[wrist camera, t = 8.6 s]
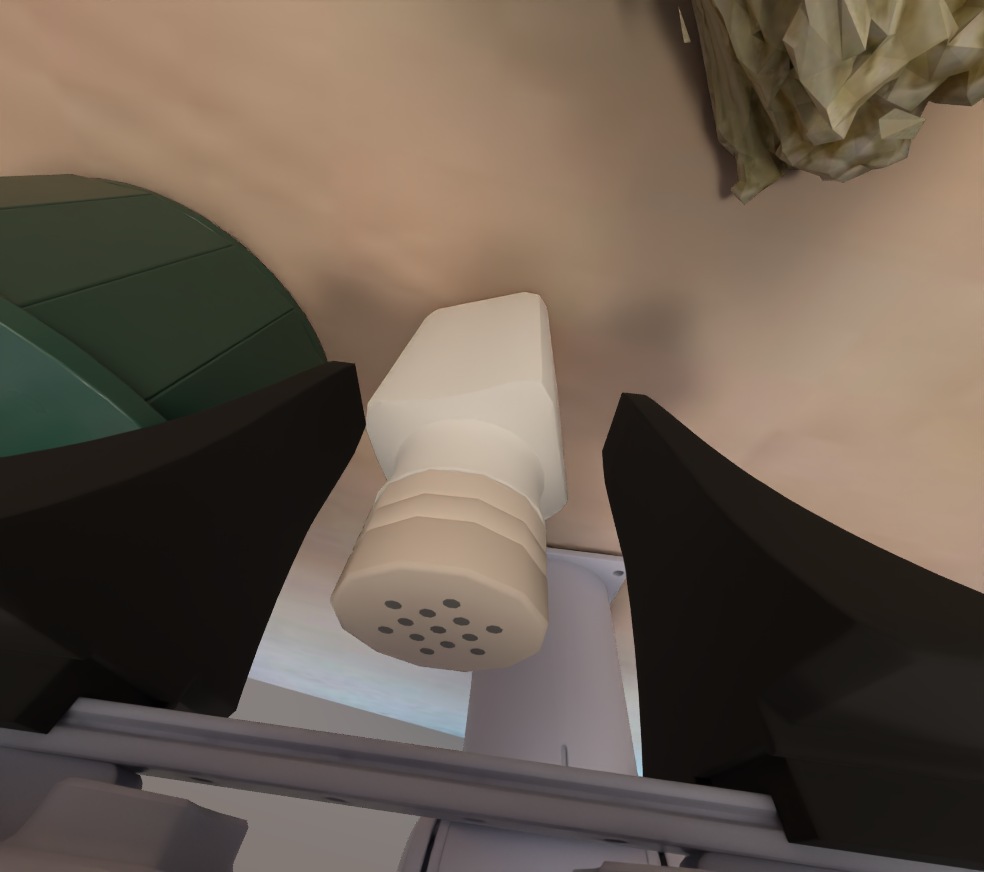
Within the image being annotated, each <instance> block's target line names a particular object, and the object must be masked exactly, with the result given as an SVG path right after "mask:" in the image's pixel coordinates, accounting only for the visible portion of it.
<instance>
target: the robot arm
mask: <svg viewBox="0 0 984 872" xmlns="http://www.w3.org/2000/svg"><path fill="white" fill-rule="evenodd" d="M365 426H366V421H365V416H364V410H363V405H362V399H361V394H360V388H359V383H358V377H357V372H356V366H355V363H346V362H337V361H332V362H328V363H325V364H322V365H319V366H316V367H313V368H311V369H308V370H306V371H303V372H301V373H298V374H296V375H294V376H291V377H289V378H286V379H284V380H282V381H279V382H277V383H274V384H272V385H270V386H267V387H265V388H262V389H260V390H257V391H255V392H252V393H249V394H247V395H244V396H242V397H239V398H236V399H234V400H231V401H228V402H226V403H223V404H220V405H218V406H215V407H212V408H209V409H206V410H203V411H200V412H197V413H194V414H191V415H187V416H184V417H181V418H177V419H174V420H171V421H167V422H164V423H160V424H157V425H153V426H149V427H145V428H141V429H137V430H132V431H128V432H124V433H120V434H116V435H112V436H108V437H104V438H100V439H95V440H91V441H86V442H81V443H76V444H71V445H66V446H61V447H56V448H51V449H46V450H40V451H35V452H29V453H24V454H18V455H12V456H6V457H0V872H233V863H234V860H235V858H236V855H237V853H238V851H239V848H240V846H241V844H242V841H243V839H244V837H245V834H246V832H247V830H248V823H247V820H244V819H240V818H236V817H233V816H229V815H225V814H222V813H218V812H215V811H212V810H210V809H206V808H204V807H201V806H199V805H197V804H195V803H193V802H191V801H189V800H187V799H182V798H178V797H173V796H168V795H163V794H158V793H153V792H148V791H143V790H141V789H142V779H141V776H140V775H146V776H154V777H160V778H167V779H174V780H180V781H187V782H194V783H201V784H207V785H214V786H221V787H228V788H234V789H241V790H248V791H254V792H261V793H268V794H275V795H281V796H288V797H295V798H301V799H309V800H315V801H322V802H328V803H336V804H342V805H348V806H356V807H362V808H369V809H375V810H383V811H389V812H396V813H403V814H409V815H416V816H421V817H420V818H419V820H418V821H417V822H416V824H415V826H414V828H413V830H412V832H411V834H410V836H409V838H408V841H407V843H406V846H405V848H404V851H403V854H402V857H401V860H400V863H399V866H398V870H397V872H984V594H983V593H981V592H978V591H976V590H973V589H971V588H969V587H966V586H964V585H962V584H959V583H957V582H954V581H952V580H950V579H947V578H945V577H942V576H940V575H938V574H936V573H933V572H931V571H929V570H927V569H925V568H922V567H920V566H918V565H916V564H914V563H912V562H910V561H907V560H905V559H903V558H901V557H899V556H897V555H895V554H892V553H890V552H888V551H886V550H884V549H882V548H880V547H878V546H876V545H874V544H872V543H870V542H868V541H866V540H864V539H862V538H860V537H858V536H856V535H854V534H852V533H849V532H848V531H846V530H844V529H842V528H840V527H838V526H836V525H834V524H833V523H831V522H829V521H827V520H825V519H823V518H821V517H820V516H818V515H816V514H814V513H812V512H810V511H809V510H807V509H805V508H803V507H801V506H800V505H798V504H796V503H795V502H793V501H791V500H789V499H788V498H786V497H784V496H783V495H781V494H780V493H778V492H776V491H775V490H773V489H772V488H770V487H768V486H767V485H765V484H764V483H762V482H760V481H759V480H757V479H756V478H754V477H753V476H751V475H750V474H748V473H747V472H745V471H744V470H742V469H741V468H739V467H738V466H737V465H735V464H734V463H732V462H731V461H730V460H728V459H727V458H726V457H724V456H723V455H721V454H720V453H719V452H717V451H716V450H715V449H713V448H712V447H711V446H709V445H708V444H707V443H706V442H704V441H703V440H702V439H701V438H699V437H698V436H697V435H696V434H694V433H693V432H692V431H691V430H689V429H688V428H687V427H686V426H684V425H683V424H682V423H681V422H680V421H678V420H677V419H676V418H675V417H674V416H672V415H671V414H670V413H669V412H668V411H666V410H665V409H664V408H663V407H661V406H660V405H659V404H658V403H656V402H655V401H654V400H652V399H651V398H649V397H648V396H646V395H641V394H632V393H622V394H621V397H620V400H619V403H618V406H617V409H616V412H615V415H614V418H613V421H612V424H611V427H610V430H609V433H608V435H607V438H606V441H605V444H604V447H603V450H602V457H603V470H604V479H605V485H606V490H607V494H608V498H609V502H610V507H611V511H612V515H613V519H614V523H615V527H616V531H617V535H618V539H619V543H620V547H621V551H622V555H623V557H622V556H614V555H606V554H598V553H589V552H581V551H573V550H565V549H557V548H549V547H546V552H545V553H546V554H547V574H546V578H547V583H548V616H549V624H548V627H547V630H546V634H545V637H544V640H543V644H542V647H541V650H540V652H539V653H537V654H535V655H532V656H530V657H528V658H526V659H524V660H522V661H520V662H518V663H516V664H514V665H512V666H510V667H507V668H498V669H488V670H478V671H473V673H472V681H471V689H470V698H469V706H468V714H467V722H466V731H465V739H464V748H463V751H456V750H449V749H442V748H435V747H428V746H421V745H414V744H407V743H400V742H392V741H386V740H379V739H372V738H365V737H358V736H351V735H344V734H337V733H330V732H322V731H316V730H309V729H302V728H294V727H287V726H280V725H273V724H267V723H260V722H252V721H245V720H238V719H231V718H228V717H229V716H230V715H231V714H232V713H234V712H235V711H236V709H237V706H238V703H239V700H240V697H241V694H242V691H243V688H244V685H245V683H246V680H247V677H248V674H249V671H250V669H251V666H252V663H253V660H254V657H255V654H256V652H257V649H258V646H259V643H260V641H261V638H262V636H263V633H264V631H265V628H266V626H267V623H268V621H269V618H270V616H271V613H272V610H273V608H274V605H275V603H276V600H277V598H278V596H279V594H280V591H281V589H282V587H283V584H284V582H285V580H286V577H287V575H288V573H289V570H290V568H291V566H292V564H293V561H294V559H295V557H296V555H297V553H298V551H299V549H300V547H301V544H302V542H303V540H304V538H305V536H306V534H307V532H308V530H309V528H310V526H311V524H312V523H313V521H314V519H315V517H316V516H317V514H318V512H319V511H320V509H321V507H322V506H323V504H324V503H325V501H326V499H327V498H328V496H329V494H330V493H331V491H332V490H333V488H334V486H335V485H336V483H337V481H338V480H339V478H340V477H341V475H342V473H343V472H344V470H345V468H346V467H347V465H348V463H349V462H350V460H351V458H352V456H353V455H354V453H355V451H356V448H357V446H358V444H359V441H360V439H361V436H362V434H363V431H364V429H365ZM625 578H627V585H628V593H629V601H630V608H631V617H632V627H633V636H634V645H635V656H636V668H637V680H638V692H639V708H640V725H641V743H642V766H643V777H639V776H638V773H637V767H636V761H635V755H634V749H633V743H632V736H631V730H630V724H629V718H628V712H627V706H626V700H625V694H624V688H623V682H622V676H621V670H620V664H619V658H618V652H617V646H616V640H615V634H614V628H613V622H612V616H611V610H610V605H611V603H612V601H613V600H614V598H615V596H616V594H617V592H618V590H619V589H620V587H621V585H622V583H623V581H624V580H625ZM138 774H140V775H138Z"/></svg>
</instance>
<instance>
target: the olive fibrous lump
mask: <svg viewBox="0 0 984 872" xmlns="http://www.w3.org/2000/svg"><path fill="white" fill-rule="evenodd" d="M691 2H692V6H693V10H694V14H695V19H696V23H697V27H698V32H699V38H700V43H701V48H702V54H703V59H704V65H705V70H706V75H707V82H708V87H709V92H710V97H711V103H712V109H713V114H714V120H715V126H716V132H717V138H718V141H719V142H720V143H721V144H722V145H723V146H724V147H725V148H726V149H727V150H728V151H729V152H730V153H731V154H732V155H733V156H734V157H735V158H736V165H737V174H738V182H737V183H736V184H735V185H734V186H733V187H732V188H731V190H732V192H733V193H734V194H735V196H736V197H737V198H738V199H739V200H740V201H741V202H742V203H743V204H744V205H745V204H746V203H748V202H749V201H750V200H751V199H752V198H753V197H755V196H756V195H757V194H758V193H759V192H761V191H762V190H763V189H765V188H766V187H768V186H769V185H771V184H772V183H773V182H775V181H776V180H778V179H779V178H781V177H782V176H783V175H784V173H785V171H789V170H796V169H801V170H804V171H807V172H810V173H812V174H815V175H818V176H820V177H821V179H822V180H835V181H839V182H842V183H843V182H846V181H848V180H850V179H853V178H855V177H857V176H859V175H862V174H864V173H866V172H869V171H871V170H874V169H879V168H883V167H887V166H889V165H891V164H894V163H896V162H898V161H901V160H903V159H905V158H907V156H908V151H909V147H910V143H911V139H914V138H915V136H916V135H917V133H918V131H919V130H920V128H921V126H922V125H923V123H924V122H925V120H926V119H923V118H920V116H921V114H922V112H923V110H924V108H925V106H926V105H927V103H928V101H931V102H934V103H939V104H951V105H963V106H972V105H974V104H975V103H977V102H978V101H980V100H981V99H982V98H984V0H691ZM678 7H679V6H678ZM679 15H680V22H681V29H682V34H683V39H684V42H690V39H689V36H688V33H687V30H686V27H685V24H684V21H683V18H682V15H681V12H680V9H679Z"/></svg>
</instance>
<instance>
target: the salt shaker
mask: <svg viewBox="0 0 984 872" xmlns="http://www.w3.org/2000/svg"><path fill="white" fill-rule="evenodd" d="M366 430H367V433H368V436H369V438H370V441H371V444H372V447H373V450H374V452H375V455H376V458H377V460H378V462H379V464H380V466H381V469H382V471H383V473H384V475H385V477H386V479H387V481H388V482H387V483H386V484H385V485H384V486H383V487H382V488H381V489H380V490H379V492H378V494H377V497H376V499H375V502H374V504H373V507H372V509H371V511H370V513H369V515H368V518H367V520H366V522H365V524H364V526H363V530H362V532H361V533H360V535H359V537H358V539H357V541H356V544H355V546H354V548H353V552H352V554H351V555H350V557H349V559H348V561H347V563H346V565H345V567H344V569H343V572H342V574H341V576H340V578H339V580H338V582H337V585H336V587H335V589H334V591H333V593H332V595H331V597H330V601H331V604H332V606H333V608H334V611H335V613H336V615H337V617H338V619H339V621H340V624H341V626H342V628H343V629H344V630H346V631H347V632H349V633H350V634H352V635H353V636H355V637H356V638H357V639H359V640H360V641H362V642H363V643H365V644H366V645H368V646H369V647H371V648H372V649H374V650H375V651H377V652H379V653H382V654H385V655H388V656H391V657H394V658H397V659H400V660H403V661H406V662H409V663H412V664H415V665H417V666H422V667H430V668H438V669H446V670H454V671H463V672H468V671H478V670H488V669H498V668H507V667H510V666H512V665H514V664H516V663H518V662H520V661H522V660H524V659H526V658H528V657H530V656H532V655H535V654H537V653H539V652H540V650H541V647H542V644H543V640H544V637H545V634H546V630H547V627H548V624H549V616H548V583H547V578H546V574H547V554H546V553H545V552H546V522H545V520H546V519H548V518H549V517H551V516H553V515H554V514H556V513H557V512H559V511H561V510H562V508H563V507H564V506H565V504H566V503H567V500H568V495H567V484H566V474H565V464H564V453H563V443H562V433H561V423H560V412H559V402H558V392H557V383H556V375H555V367H554V359H553V351H552V343H551V335H550V327H549V319H548V311H547V307H546V305H545V304H544V302H543V300H542V299H541V297H540V295H537V294H532V293H527V292H521V293H516V294H511V295H506V296H501V297H496V298H491V299H486V300H481V301H476V302H471V303H466V304H461V305H455V306H450V307H445V308H440V309H436V310H435V311H434V312H432V313H431V314H430V315H428V316H427V317H426V318H425V319H424V321H423V322H422V324H421V325H420V327H419V328H418V330H417V331H416V333H415V334H414V336H413V337H412V339H411V340H410V342H409V343H408V345H407V346H406V347H405V349H404V350H403V352H402V353H401V355H400V356H399V358H398V359H397V361H396V362H395V364H394V365H393V367H392V368H391V370H390V371H389V373H388V374H387V376H386V377H385V379H384V380H383V381H382V383H381V384H380V386H379V387H378V389H377V390H376V392H375V393H374V395H373V396H372V398H371V399H370V401H369V402H368V406H367V418H366Z"/></svg>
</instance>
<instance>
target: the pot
mask: <svg viewBox="0 0 984 872" xmlns="http://www.w3.org/2000/svg"><path fill="white" fill-rule="evenodd" d="M0 295H1V296H3V297H4V298H6V299H7V300H9V301H11V302H12V303H14V304H16V305H17V306H19V307H21V308H22V309H24V310H25V311H27V312H29V313H30V314H32V315H34V316H35V317H37V318H38V319H40V320H41V321H42V322H44V323H45V324H47V325H48V326H50V327H51V328H52V329H54V330H55V331H57V332H58V333H60V334H61V335H63V336H64V337H65V338H67V339H68V340H70V341H71V342H73V343H74V344H75V345H77V346H78V347H80V348H81V349H83V350H84V351H85V352H87V353H88V354H89V355H91V356H92V357H93V358H94V359H96V360H97V361H98V362H99V363H101V364H102V365H103V366H105V367H106V368H107V369H108V370H110V371H111V372H112V373H113V374H115V375H116V376H117V377H118V378H120V379H121V380H122V381H124V382H125V383H126V384H127V385H129V386H130V387H131V388H132V389H133V390H134V391H135V392H136V393H138V394H139V395H140V396H141V397H142V398H143V399H144V400H145V401H146V402H148V403H149V404H150V405H151V406H152V407H153V408H154V409H155V410H156V411H158V412H159V413H160V414H161V415H162V416H163V417H164V418H165V419H166V420H167V421H171V420H174V419H177V418H181V417H184V416H187V415H191V414H194V413H197V412H200V411H203V410H206V409H209V408H212V407H215V406H218V405H220V404H223V403H226V402H228V401H231V400H234V399H236V398H239V397H242V396H244V395H247V394H249V393H252V392H255V391H257V390H260V389H262V388H265V387H267V386H270V385H272V384H274V383H277V382H279V381H282V380H284V379H286V378H289V377H291V376H294V375H296V374H298V373H301V372H303V371H306V370H308V369H311V368H313V367H316V366H319V365H322V364H325V363H327V360H326V357H325V354H324V352H323V349H322V347H321V345H320V342H319V340H318V338H317V336H316V334H315V332H314V330H313V329H312V327H311V325H310V323H309V322H308V320H307V318H306V316H305V315H304V313H303V312H302V310H301V309H300V308H299V306H298V305H297V303H296V302H295V300H294V299H293V298H292V296H291V295H290V294H289V293H288V291H287V290H286V289H285V288H284V287H283V285H282V284H281V283H280V282H279V281H278V280H277V278H276V277H275V276H274V275H273V274H272V273H271V272H270V271H269V270H268V269H267V268H266V267H265V266H264V265H263V264H262V263H261V262H260V261H259V260H258V259H257V258H256V257H255V256H254V255H253V254H252V253H251V252H249V251H248V250H247V249H246V248H245V247H243V246H242V245H241V244H240V243H239V242H237V241H236V240H235V239H234V238H233V237H231V236H230V235H229V234H227V233H226V232H224V231H223V230H222V229H220V228H219V227H217V226H216V225H214V224H213V223H211V222H210V221H209V220H207V219H206V218H204V217H202V216H201V215H199V214H197V213H195V212H193V211H192V210H190V209H188V208H186V207H185V206H183V205H181V204H179V203H177V202H175V201H173V200H170V199H168V198H166V197H163V196H161V195H159V194H157V193H154V192H152V191H149V190H146V189H143V188H139V187H136V186H133V185H130V184H127V183H122V182H116V181H111V180H105V179H95V178H86V177H81V176H77V175H73V174H62V175H35V176H8V177H0Z"/></svg>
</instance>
